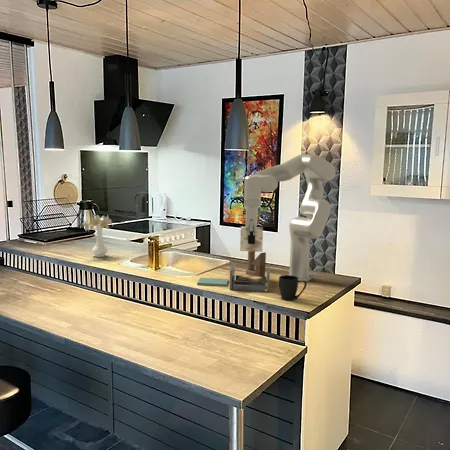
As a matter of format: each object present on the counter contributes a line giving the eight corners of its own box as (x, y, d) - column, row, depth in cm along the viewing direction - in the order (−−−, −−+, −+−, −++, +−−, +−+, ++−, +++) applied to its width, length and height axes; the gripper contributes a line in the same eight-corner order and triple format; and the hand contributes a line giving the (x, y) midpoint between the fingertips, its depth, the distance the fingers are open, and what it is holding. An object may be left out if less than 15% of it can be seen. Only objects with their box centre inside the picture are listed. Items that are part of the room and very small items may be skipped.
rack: (269, 281, 221) (269, 263, 220) (268, 292, 203) (269, 272, 202) (232, 279, 223) (233, 262, 221) (229, 290, 205) (230, 270, 203)
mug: (302, 304, 186) (303, 282, 185) (275, 299, 192) (276, 278, 191) (308, 299, 193) (309, 278, 192) (282, 294, 199) (283, 274, 198)
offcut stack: (263, 285, 215) (263, 277, 214) (258, 287, 211) (259, 279, 210) (241, 281, 221) (242, 273, 221) (236, 283, 217) (237, 275, 216)
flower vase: (79, 257, 265) (78, 215, 262) (104, 252, 280) (104, 213, 276) (93, 260, 257) (92, 217, 254) (118, 255, 272) (118, 215, 269)
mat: (228, 280, 220) (228, 278, 220) (226, 286, 210) (226, 284, 210) (200, 279, 222) (200, 277, 221) (197, 284, 212) (197, 282, 212)
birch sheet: (262, 250, 206) (262, 227, 204) (262, 251, 203) (262, 227, 202) (240, 249, 207) (241, 226, 205) (240, 251, 204) (240, 227, 203)
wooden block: (259, 281, 222) (261, 245, 219) (245, 276, 230) (246, 242, 227) (265, 279, 224) (266, 244, 221) (250, 275, 232) (251, 241, 230)
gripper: (245, 201, 210) (244, 239, 213) (243, 204, 194) (242, 246, 197) (261, 201, 209) (260, 240, 212) (260, 205, 194) (259, 246, 196)
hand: (251, 242), depth 205 cm, fingers closed on birch sheet, 2 cm apart
